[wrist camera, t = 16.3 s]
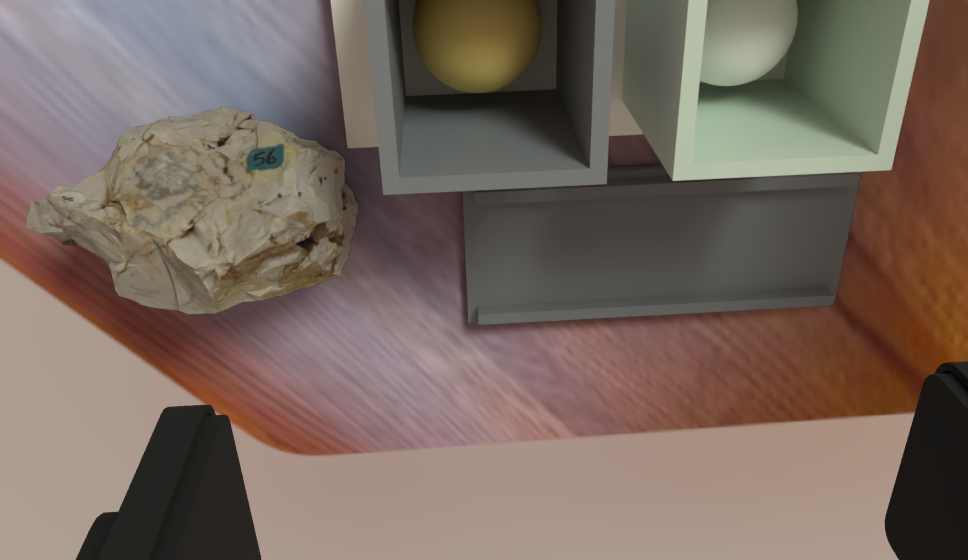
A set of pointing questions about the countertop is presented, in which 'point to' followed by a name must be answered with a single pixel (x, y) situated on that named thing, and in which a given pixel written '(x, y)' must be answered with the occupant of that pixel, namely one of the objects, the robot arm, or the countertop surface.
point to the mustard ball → (477, 41)
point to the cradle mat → (655, 246)
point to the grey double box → (629, 96)
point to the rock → (209, 212)
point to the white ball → (745, 39)
